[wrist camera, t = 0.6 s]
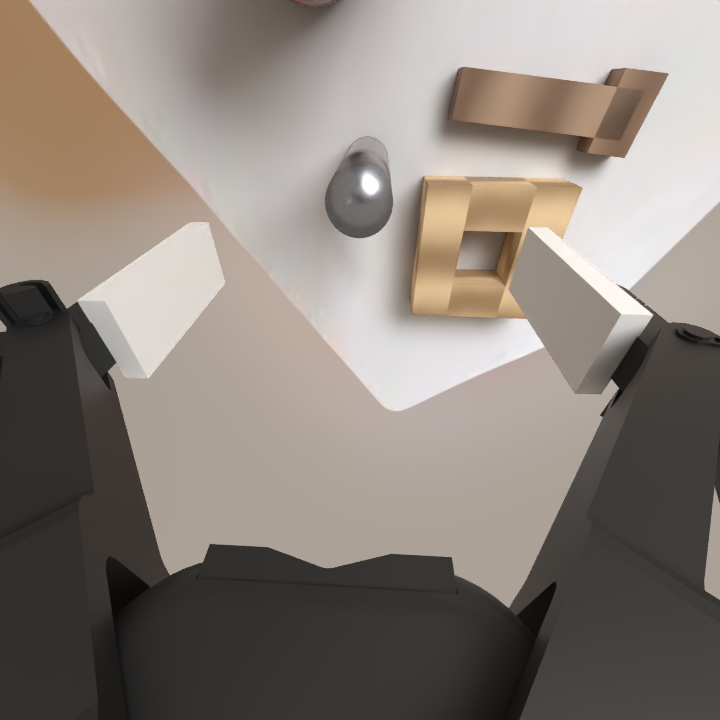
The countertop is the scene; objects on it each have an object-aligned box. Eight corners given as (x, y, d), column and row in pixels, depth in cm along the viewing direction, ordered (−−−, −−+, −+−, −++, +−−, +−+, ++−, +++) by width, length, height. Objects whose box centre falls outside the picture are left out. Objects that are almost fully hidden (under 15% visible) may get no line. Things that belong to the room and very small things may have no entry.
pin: (346, 136, 27) (323, 164, 16) (389, 136, 27) (395, 165, 16) (346, 184, 29) (327, 237, 19) (386, 185, 29) (390, 238, 18)
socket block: (423, 175, 29) (428, 184, 26) (563, 178, 28) (582, 187, 26) (409, 298, 36) (411, 314, 34) (519, 301, 36) (530, 318, 33)
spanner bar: (444, 133, 27) (448, 135, 25) (462, 50, 24) (468, 47, 22) (610, 154, 27) (624, 157, 26) (650, 74, 24) (668, 73, 23)
